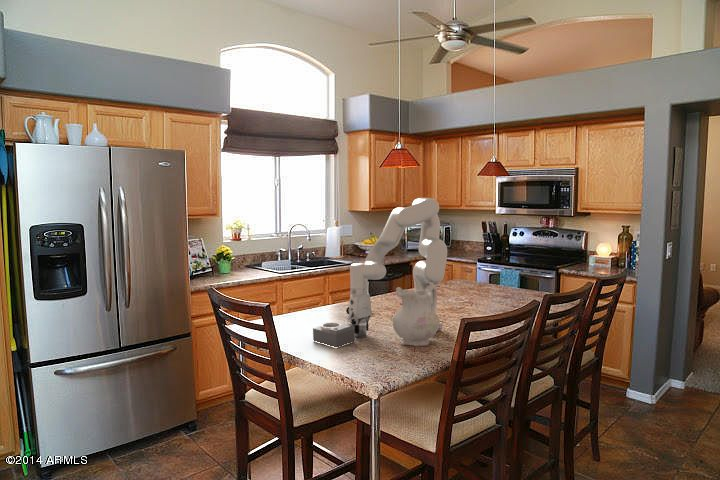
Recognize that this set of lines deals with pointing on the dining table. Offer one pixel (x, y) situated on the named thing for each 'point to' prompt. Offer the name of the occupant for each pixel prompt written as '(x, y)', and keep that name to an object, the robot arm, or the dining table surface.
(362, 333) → the lens
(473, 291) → the dining table surface
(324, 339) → the grey ring-socket block
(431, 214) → the robot arm
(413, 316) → the ceramic pitcher
